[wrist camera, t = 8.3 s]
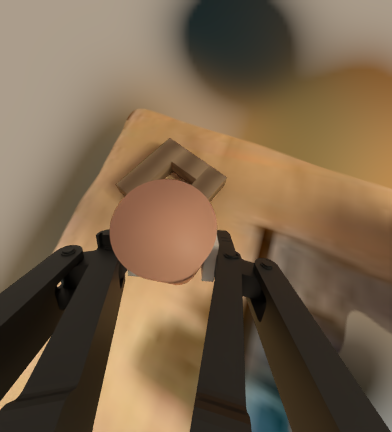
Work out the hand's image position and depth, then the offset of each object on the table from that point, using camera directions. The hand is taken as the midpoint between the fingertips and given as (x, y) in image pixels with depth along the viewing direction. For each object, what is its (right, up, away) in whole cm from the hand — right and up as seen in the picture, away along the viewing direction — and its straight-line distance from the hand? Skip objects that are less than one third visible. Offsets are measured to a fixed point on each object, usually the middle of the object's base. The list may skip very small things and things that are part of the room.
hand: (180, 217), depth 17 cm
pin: (0, -5, +2) cm, 5 cm away
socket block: (-3, +5, +18) cm, 19 cm away
